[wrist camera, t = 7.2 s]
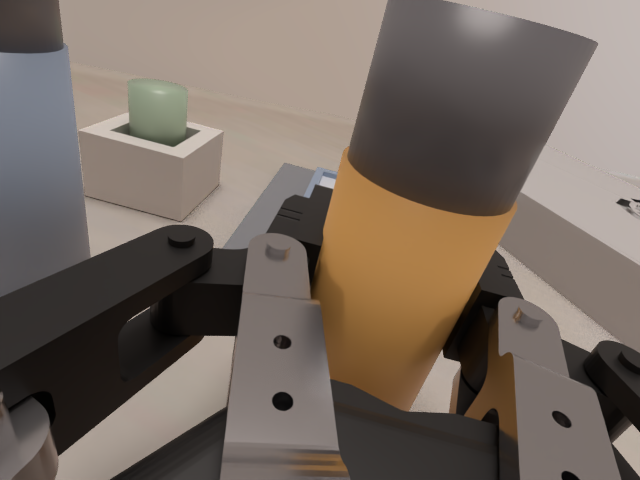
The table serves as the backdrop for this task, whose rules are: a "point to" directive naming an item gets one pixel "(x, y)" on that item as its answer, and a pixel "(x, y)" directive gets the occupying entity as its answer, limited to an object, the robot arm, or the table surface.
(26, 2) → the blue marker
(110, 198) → the button housing
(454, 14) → the orange marker
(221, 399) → the table surface
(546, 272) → the power supply unit
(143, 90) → the button
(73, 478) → the table surface
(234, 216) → the table surface
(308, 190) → the picture board
